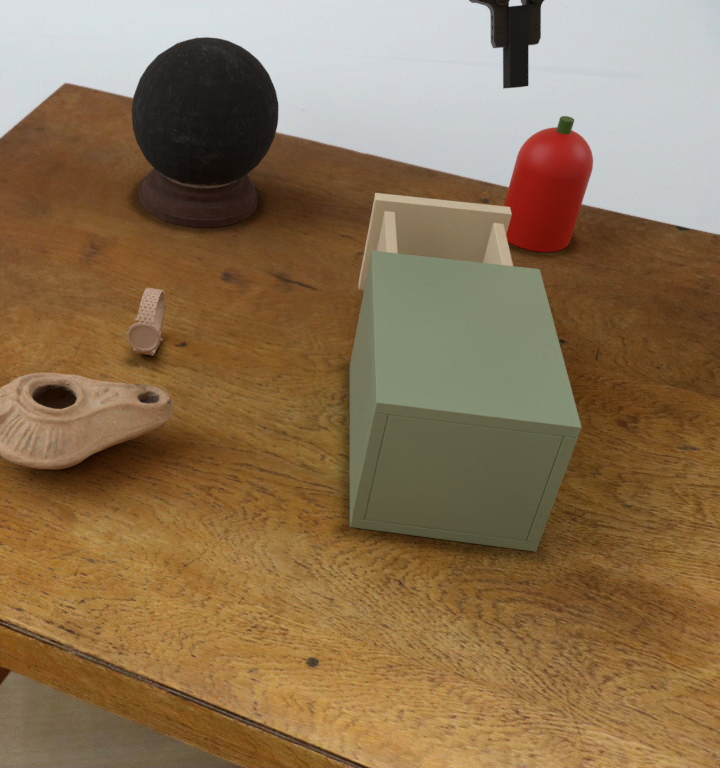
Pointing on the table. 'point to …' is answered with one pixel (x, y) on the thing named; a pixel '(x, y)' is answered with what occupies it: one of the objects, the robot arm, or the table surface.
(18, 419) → the pottery oil lamp
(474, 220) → the drawer
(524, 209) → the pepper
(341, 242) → the table surface
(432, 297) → the cabinet
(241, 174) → the black ball on stand
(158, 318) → the wristwatch
